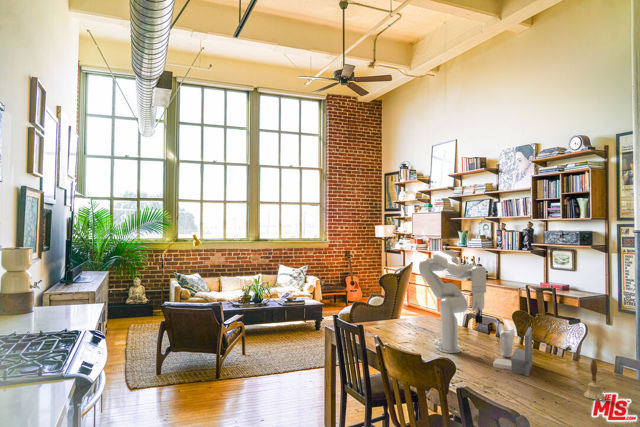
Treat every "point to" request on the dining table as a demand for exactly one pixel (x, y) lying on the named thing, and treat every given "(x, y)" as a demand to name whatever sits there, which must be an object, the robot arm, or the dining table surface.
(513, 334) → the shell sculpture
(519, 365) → the gray l-shaped bracket
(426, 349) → the dining table surface
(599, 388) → the hand bell
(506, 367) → the ceramic tile
